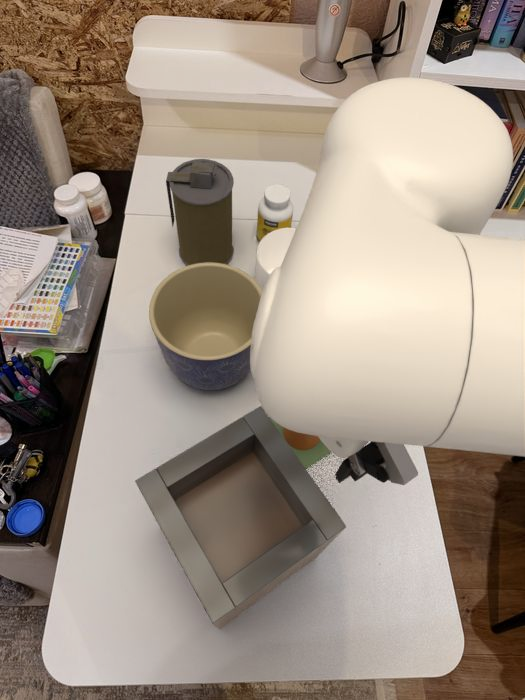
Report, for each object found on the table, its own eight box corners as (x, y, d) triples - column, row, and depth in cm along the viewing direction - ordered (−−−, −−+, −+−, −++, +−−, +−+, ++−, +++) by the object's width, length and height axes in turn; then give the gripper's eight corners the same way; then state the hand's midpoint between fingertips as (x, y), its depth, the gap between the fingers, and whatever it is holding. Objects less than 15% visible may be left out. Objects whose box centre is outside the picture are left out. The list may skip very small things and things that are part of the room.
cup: (307, 331, 90) (317, 291, 80) (245, 313, 91) (246, 270, 81) (324, 281, 96) (335, 237, 86) (265, 264, 97) (269, 219, 87)
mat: (345, 442, 80) (346, 441, 80) (294, 476, 77) (294, 475, 77) (308, 393, 84) (308, 392, 84) (257, 424, 81) (257, 423, 81)
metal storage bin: (316, 557, 72) (346, 526, 53) (218, 629, 67) (213, 624, 48) (253, 463, 78) (260, 405, 59) (160, 522, 73) (134, 480, 54)
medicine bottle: (329, 437, 80) (344, 406, 70) (297, 458, 78) (307, 430, 68) (306, 406, 82) (316, 372, 72) (274, 426, 81) (280, 394, 70)
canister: (236, 233, 101) (236, 148, 83) (230, 274, 96) (230, 193, 78) (181, 228, 101) (170, 142, 83) (172, 269, 95) (159, 187, 78)
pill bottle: (252, 246, 99) (255, 202, 89) (260, 222, 102) (263, 177, 92) (285, 253, 99) (291, 209, 89) (292, 229, 102) (298, 184, 92)
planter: (151, 398, 82) (136, 351, 69) (172, 311, 91) (162, 255, 78) (256, 411, 82) (260, 366, 69) (267, 323, 91) (273, 268, 77)
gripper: (225, 238, 32) (227, 370, 47) (410, 465, 25) (344, 536, 40) (320, 195, 34) (294, 334, 49) (514, 392, 27) (415, 484, 42)
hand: (316, 424), depth 44 cm, fingers open, 9 cm apart
